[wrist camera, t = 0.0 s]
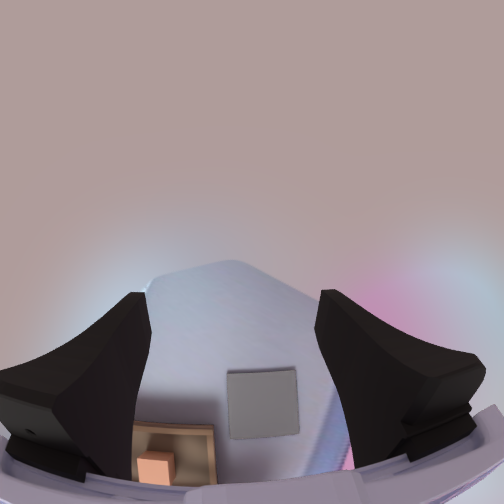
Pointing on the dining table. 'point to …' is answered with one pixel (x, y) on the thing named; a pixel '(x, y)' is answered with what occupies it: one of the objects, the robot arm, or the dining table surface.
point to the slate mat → (262, 404)
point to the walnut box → (178, 450)
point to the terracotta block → (156, 468)
